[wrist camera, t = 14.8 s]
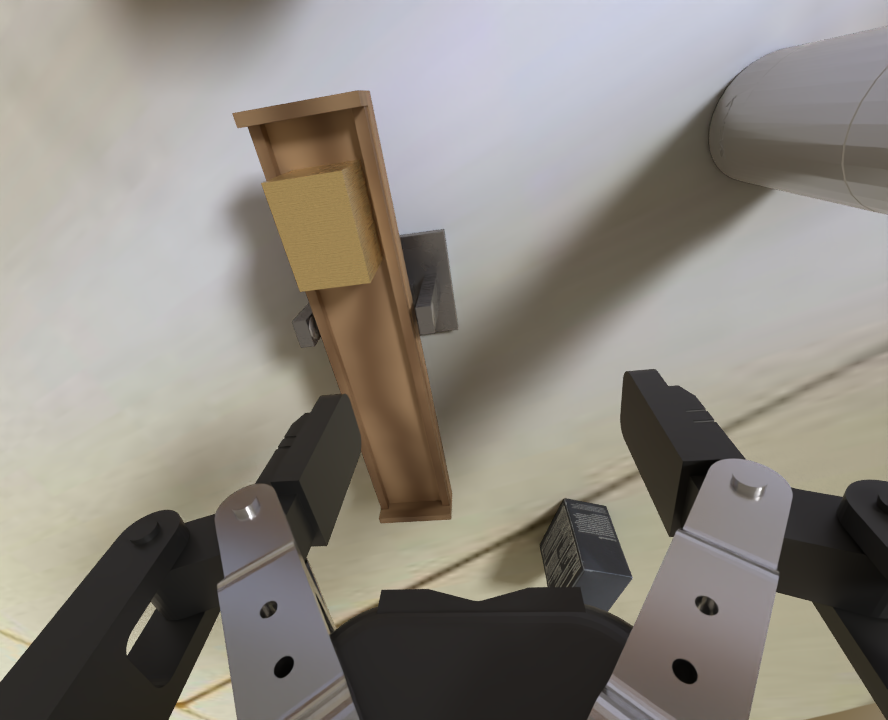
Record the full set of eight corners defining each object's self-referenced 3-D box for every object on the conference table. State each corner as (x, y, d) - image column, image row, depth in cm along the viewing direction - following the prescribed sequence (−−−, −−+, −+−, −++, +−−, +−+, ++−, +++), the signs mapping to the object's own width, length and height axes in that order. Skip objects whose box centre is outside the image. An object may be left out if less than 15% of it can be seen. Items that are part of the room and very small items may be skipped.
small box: (580, 553, 61) (599, 628, 52) (538, 545, 61) (550, 619, 52) (609, 505, 56) (636, 580, 47) (563, 496, 56) (581, 570, 47)
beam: (369, 90, 27) (357, 90, 24) (452, 493, 49) (451, 519, 46) (256, 111, 28) (232, 113, 25) (385, 497, 50) (380, 523, 47)
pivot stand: (444, 229, 39) (437, 257, 31) (457, 325, 44) (455, 370, 36) (302, 248, 40) (261, 280, 33) (330, 339, 45) (301, 385, 37)
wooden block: (341, 170, 24) (370, 282, 28) (360, 159, 28) (383, 258, 32) (261, 183, 25) (300, 291, 28) (291, 170, 29) (321, 266, 33)
